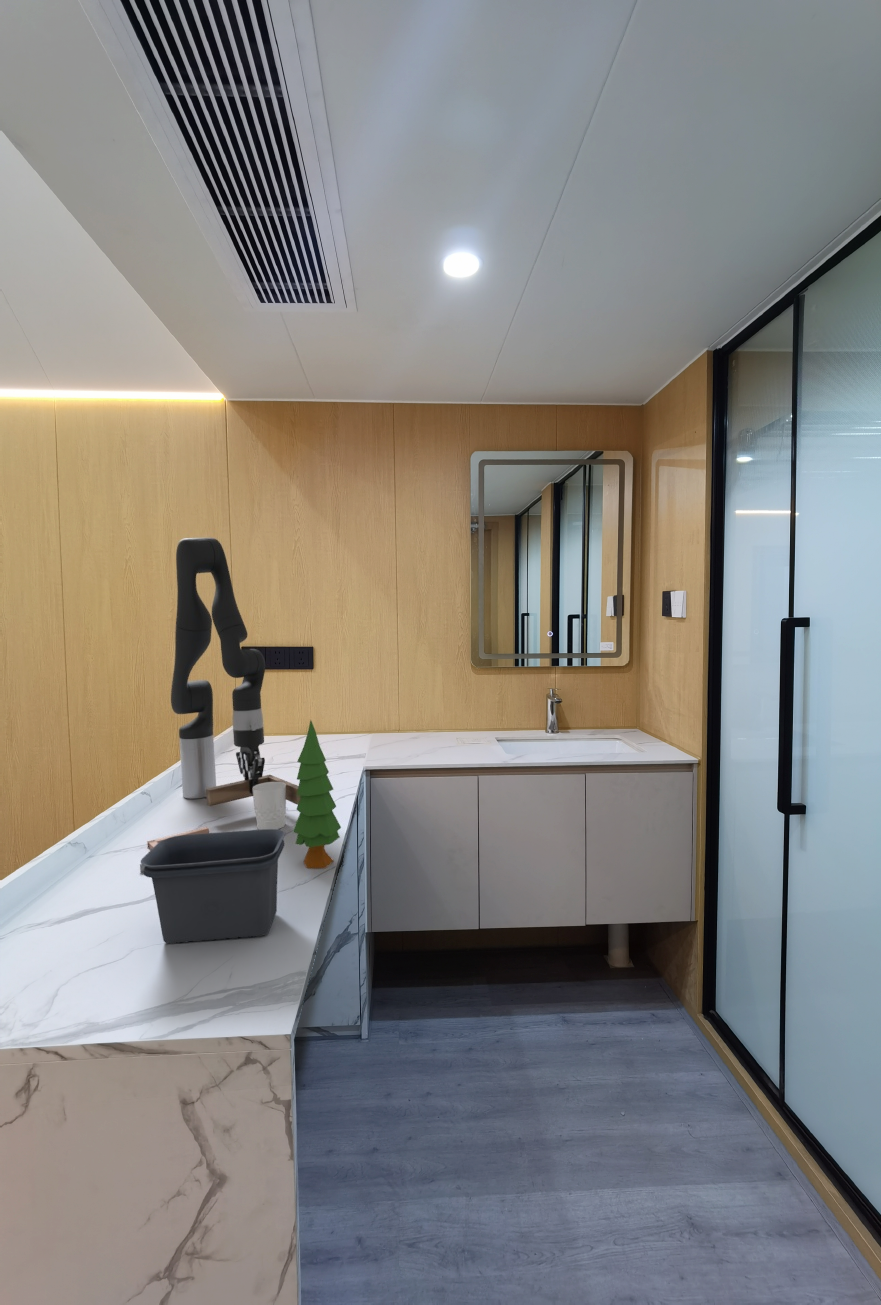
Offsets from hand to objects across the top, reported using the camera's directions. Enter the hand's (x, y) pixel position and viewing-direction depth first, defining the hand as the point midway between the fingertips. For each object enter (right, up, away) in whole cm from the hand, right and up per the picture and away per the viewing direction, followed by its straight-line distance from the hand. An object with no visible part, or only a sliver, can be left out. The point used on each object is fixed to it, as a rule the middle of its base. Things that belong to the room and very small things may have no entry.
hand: (252, 792), depth 165 cm
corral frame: (-7, -7, -22) cm, 24 cm away
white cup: (+8, -6, -10) cm, 14 cm away
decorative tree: (+24, -8, -34) cm, 42 cm away
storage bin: (+13, -10, -59) cm, 61 cm away
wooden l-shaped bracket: (+3, -1, -8) cm, 9 cm away
